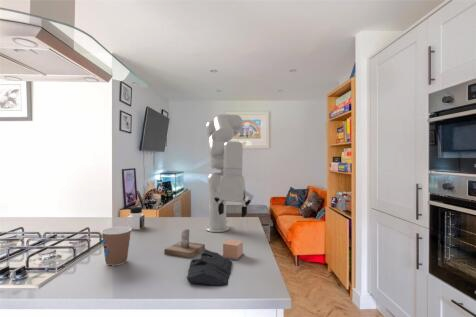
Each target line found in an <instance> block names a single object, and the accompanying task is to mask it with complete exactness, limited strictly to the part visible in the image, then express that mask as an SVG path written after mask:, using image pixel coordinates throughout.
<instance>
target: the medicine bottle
mask: <svg viewBox="0 0 476 317" xmlns="http://www.w3.org/2000/svg"><path fill="white" fill-rule="evenodd" d="M129 210H130V212H129V214H130V215H128V216H127V219H126V223H127V224H126V227H130V228H131V229H132V231H133V230H138V231H139V230H142V229H143V228H145V213H144V214H143V213H142V212H143V207H142V206H139V205H138V206H135V205H134V206H132V207H130V208H129Z"/></svg>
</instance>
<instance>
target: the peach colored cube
mask: <svg viewBox="0 0 476 317" xmlns="http://www.w3.org/2000/svg"><path fill="white" fill-rule="evenodd" d="M243 251H244V242H243V241H241V240H233V239H228V240H226V241H225V242H224V243H223V244H222V255H223V257H228V258H234V259H238V258H239V257H240V256H241V255H242V254H243V253H244V252H243Z"/></svg>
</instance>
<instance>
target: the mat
mask: <svg viewBox="0 0 476 317" xmlns="http://www.w3.org/2000/svg"><path fill="white" fill-rule="evenodd" d="M244 255H245V253H244V252H243V254H242V255H241V256H240V257H239V258H238V259H234V258H228V257H224V258H225V259H229V260H230V261H236V262H237V261H239V260H240V259H241V258H242V257H243V256H244ZM221 256H222V257H223V254H222V255H221Z"/></svg>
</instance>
